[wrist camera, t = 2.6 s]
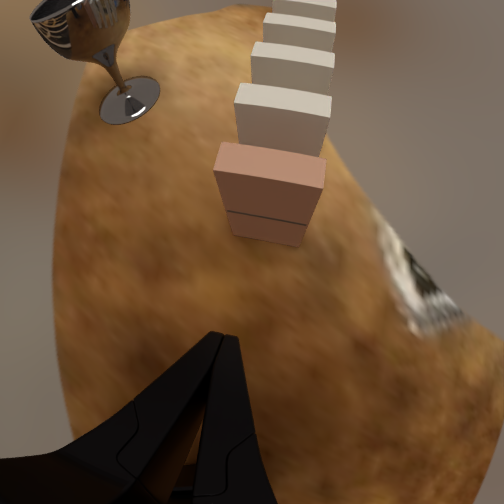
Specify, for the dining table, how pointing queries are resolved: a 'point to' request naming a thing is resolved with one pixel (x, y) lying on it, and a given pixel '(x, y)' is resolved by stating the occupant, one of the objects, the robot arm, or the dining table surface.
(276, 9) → the domino
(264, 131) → the domino
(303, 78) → the domino
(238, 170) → the domino
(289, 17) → the domino
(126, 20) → the wine glass
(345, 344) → the dining table surface
